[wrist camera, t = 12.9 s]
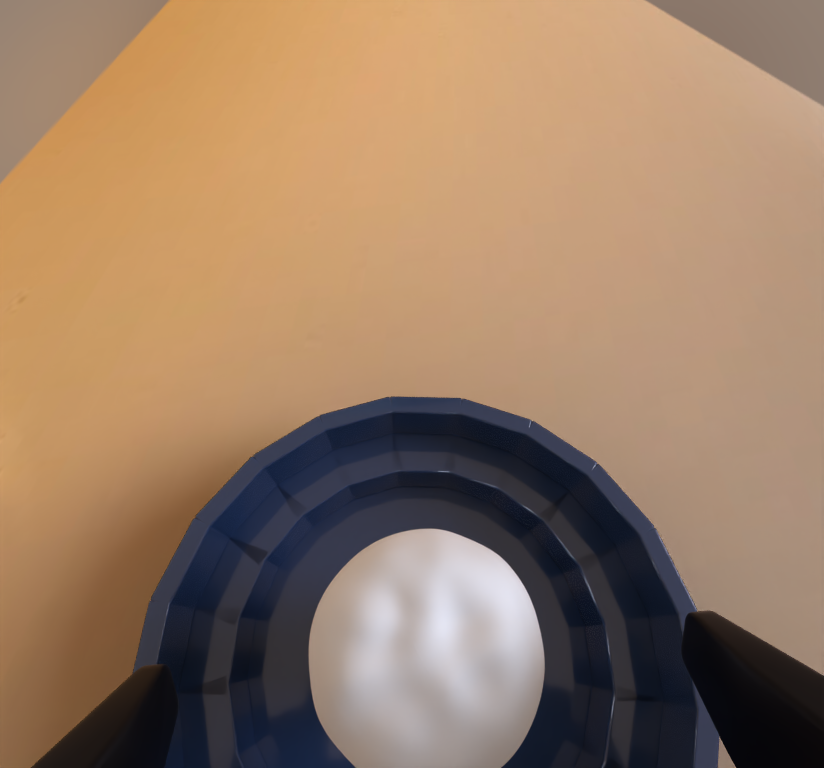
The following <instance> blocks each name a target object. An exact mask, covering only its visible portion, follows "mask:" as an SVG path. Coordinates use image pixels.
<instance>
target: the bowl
mask: <svg viewBox="0 0 824 768" xmlns="http://www.w3.org/2000/svg"><path fill="white" fill-rule="evenodd" d="M416 529H440V530H445V531H449V532H452V533H455V534H458V535H461V536H463V537H465V538H468V539H470V540H472V541H475V542H477V543H479V544H481V545H483V546H485V547H487V548H488V549H490V550H492V551H493V552H495V553H496V554H498V555H499V556H500V557H501V558H502V559H503V560H504V561H505V562H506V563H507V564H508V565H509V566H510V567H511V568H512V569H513V571H514V572H515V573H516V575H517V576H518V577H519V579H520V580H521V582H522V584H523V585H524V587H525V589H526V591H527V593H528V595H529V597H530V599H531V601H532V604H533V607H534V609H535V613H536V616H537V620H538V623H539V628H540V632H541V637H542V642H543V649H544V658H545V673H544V682H543V689H542V694H541V698H540V702H539V705H538V709H537V712H536V715H535V717H534V720H533V722H532V725H531V727H530V729H529V731H528V733H527V735H526V737H525V739H524V741H523V742H522V744H521V745H520V747H519V748H518V750H517V751H516V752H515V754H514V755H513V756H512V757H511V758H510V760H509V761H508V762H507V763H506V764H505V765H503V766H502V767H501V768H718V751H719V734H718V732H717V730H716V728H715V726H714V724H713V722H712V719H711V717H710V715H709V713H708V711H707V709H706V707H705V705H704V703H703V701H702V699H701V697H700V695H699V693H698V691H697V689H696V687H695V684H694V682H693V680H692V678H691V676H690V674H689V672H688V670H687V668H686V666H685V664H684V661H683V658H682V653H681V646H682V638H683V631H684V624H685V618H686V616H687V614H688V613H690V612H697V608H696V606H695V604H694V602H693V600H692V599H691V597H690V595H689V593H688V591H687V589H686V587H685V585H684V583H683V581H682V579H681V577H680V575H679V573H678V571H677V569H676V567H675V565H674V563H673V561H672V559H671V557H670V555H669V553H668V551H667V549H666V547H665V545H664V543H663V541H662V540H661V538H660V536H659V534H658V532H657V530H656V528H654V525H653V524H652V523H651V522H650V521H649V520H648V518H647V517H646V516H645V515H644V514H643V513H642V512H641V511H640V510H639V508H638V507H637V506H636V505H635V504H634V503H633V502H632V501H631V499H630V498H629V497H628V496H627V495H626V494H625V493H624V492H623V490H622V489H621V488H620V487H619V486H618V485H617V484H616V483H615V481H614V480H613V479H612V478H611V477H610V476H609V475H608V474H607V472H606V471H605V470H604V469H603V468H602V467H601V466H600V465H599V464H597V462H596V461H594V460H593V459H591V458H590V457H588V456H586V455H585V454H583V453H582V452H580V451H579V450H577V449H576V448H574V447H573V446H571V445H570V444H568V443H567V442H565V441H564V440H562V439H560V438H559V437H557V436H556V435H554V434H553V433H551V432H550V431H548V430H547V429H545V428H544V427H542V426H541V425H539V424H537V423H536V422H534V421H532V420H530V419H527V418H524V417H521V416H517V415H514V414H511V413H508V412H505V411H501V410H498V409H495V408H492V407H489V406H486V405H482V404H479V403H476V402H473V401H470V400H466V399H461V398H435V397H386V398H382V399H378V400H374V401H371V402H367V403H363V404H360V405H356V406H352V407H348V408H345V409H341V410H337V411H333V412H330V413H326V414H322V415H320V416H318V417H316V418H314V419H312V420H311V421H309V422H307V423H306V424H304V425H302V426H301V427H299V428H297V429H296V430H294V431H292V432H291V433H289V434H287V435H286V436H284V437H282V438H281V439H279V440H277V441H276V442H274V443H272V444H271V445H269V446H267V447H266V448H264V449H262V450H261V451H259V452H258V453H256V454H254V455H253V457H251V458H250V459H249V460H248V461H247V462H246V463H245V464H244V465H243V466H242V467H241V468H240V469H239V470H238V471H237V472H236V473H235V475H234V476H233V477H232V478H231V479H230V480H229V481H228V482H227V483H226V484H225V485H224V486H223V487H222V488H221V489H220V490H219V491H218V493H217V494H216V495H215V496H214V497H213V498H212V499H211V500H210V501H209V502H208V503H207V504H206V505H205V506H204V507H203V508H202V509H201V511H200V512H199V513H198V514H197V515H196V516H195V518H194V519H193V520H192V522H191V524H190V526H189V528H188V530H187V532H186V533H185V535H184V537H183V539H182V541H181V543H180V545H179V547H178V548H177V550H176V552H175V554H174V556H173V558H172V560H171V562H170V563H169V565H168V567H167V569H166V571H165V573H164V575H163V576H162V578H161V580H160V582H159V584H158V586H157V588H156V590H155V591H154V593H153V595H152V597H151V601H150V602H149V605H148V609H147V613H146V618H145V622H144V626H143V631H142V635H141V639H140V644H139V648H138V652H137V657H136V661H135V665H134V670H133V673H134V672H135V671H137V670H138V669H139V668H141V667H143V666H146V665H156V664H166V665H168V666H169V668H170V670H171V674H172V678H173V682H174V686H175V690H176V694H177V698H178V714H177V719H176V723H175V727H174V731H173V735H172V739H171V743H170V747H169V751H168V755H167V759H166V763H165V767H164V768H356V767H355V766H354V765H353V764H352V763H351V762H350V761H349V760H348V759H347V758H346V757H345V756H344V755H343V754H342V753H341V751H340V750H339V749H338V748H337V747H336V746H335V744H334V743H333V742H332V740H331V739H330V738H329V736H328V735H327V733H326V732H325V730H324V728H323V727H322V725H321V723H320V721H319V718H318V716H317V713H316V710H315V706H314V702H313V697H312V691H311V683H310V673H309V638H310V631H311V626H312V622H313V618H314V615H315V612H316V609H317V607H318V604H319V602H320V600H321V598H322V596H323V594H324V592H325V591H326V589H327V587H328V586H329V584H330V583H331V582H332V580H333V579H334V578H335V576H336V575H337V574H338V573H339V572H340V570H341V569H342V568H343V567H344V566H345V565H346V564H347V563H348V562H349V561H350V560H351V559H352V558H353V557H354V556H356V555H357V554H358V553H359V552H360V551H362V550H363V549H365V548H366V547H368V546H369V545H371V544H373V543H374V542H376V541H378V540H380V539H383V538H385V537H388V536H390V535H393V534H396V533H400V532H404V531H409V530H416Z"/></svg>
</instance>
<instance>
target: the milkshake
mask: <svg viewBox="0 0 824 768" xmlns="http://www.w3.org/2000/svg"><path fill="white" fill-rule="evenodd" d="M309 673H310V683H311V691H312V697H313V702H314V706H315V710H316V713H317V716H318V718H319V721H320V723H321V725H322V727H323V728H324V730H325V732H326V733H327V735H328V736H329V738H330V739H331V740H332V742H333V743H334V744H335V746H336V747H337V748H338V749H339V750H340V751H341V753H342V754H343V755H344V756H345V757H346V758H347V759H348V760H349V761H350V762H351V763H352V764H353V765H354V766H355V767H356V768H501V767H502V766H503V765H505V764H506V763H507V762H508V761H509V760H510V758H511V757H512V756H513V755H514V754H515V752H516V751H517V750H518V748H519V747H520V745H521V744H522V742H523V741H524V739H525V737H526V735H527V733H528V731H529V729H530V727H531V725H532V722H533V720H534V717H535V715H536V712H537V709H538V705H539V702H540V698H541V694H542V689H543V682H544V673H545V658H544V649H543V642H542V637H541V632H540V628H539V623H538V620H537V616H536V613H535V609H534V607H533V604H532V601H531V599H530V597H529V595H528V593H527V591H526V589H525V587H524V585H523V584H522V582H521V580H520V579H519V577H518V576H517V575H516V573H515V572H514V571H513V569H512V568H511V567H510V566H509V565H508V564H507V563H506V562H505V561H504V560H503V559H502V558H501V557H500V556H499V555H498V554H496V553H495V552H493V551H492V550H490V549H488V548H487V547H485V546H483V545H481V544H479V543H477V542H475V541H472V540H470V539H468V538H465V537H463V536H461V535H458V534H455V533H452V532H449V531H445V530H440V529H416V530H409V531H404V532H400V533H396V534H393V535H390V536H388V537H385V538H383V539H380V540H378V541H376V542H374V543H373V544H371V545H369V546H368V547H366V548H365V549H363V550H362V551H360V552H359V553H358V554H357V555H356V556H354V557H353V558H352V559H351V560H350V561H349V562H348V563H347V564H346V565H345V566H344V567H343V568H342V569H341V570H340V572H339V573H338V574H337V575H336V576H335V578H334V579H333V580H332V582H331V583H330V584H329V586H328V587H327V589H326V591H325V592H324V594H323V596H322V598H321V600H320V602H319V604H318V607H317V609H316V612H315V615H314V618H313V622H312V626H311V631H310V638H309Z"/></svg>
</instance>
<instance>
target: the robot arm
mask: <svg viewBox="0 0 824 768" xmlns="http://www.w3.org/2000/svg"><path fill="white" fill-rule="evenodd" d="M681 653H682V658H683V661H684V664H685V666H686V668H687V670H688V672H689V674H690V676H691V678H692V680H693V682H694V684H695V687H696V689H697V691H698V693H699V695H700V697H701V699H702V701H703V703H704V705H705V707H706V709H707V711H708V713H709V715H710V717H711V719H712V722H713V724H714V726H715V728H716V730H717V732H718V734H719V736H720V738H721V740H722V742H723V744H724V746H725V748H726V750H727V752H728V754H729V756H730V757H731V759H732V761H733V763H734V764H735V766H736V768H824V676H823V675H822V674H820V673H818V672H816V671H815V670H813V669H811V668H810V667H808V666H806V665H804V664H803V663H801V662H799V661H798V660H796V659H794V658H792V657H791V656H789V655H787V654H785V653H784V652H782V651H780V650H779V649H777V648H775V647H773V646H772V645H770V644H768V643H767V642H765V641H763V640H761V639H760V638H758V637H756V636H755V635H753V634H751V633H749V632H748V631H746V630H744V629H743V628H741V627H739V626H737V625H736V624H734V623H732V622H731V621H729V620H727V619H725V618H724V617H722V616H720V615H719V614H717V613H715V612H712V611H698V612H690V613H688V614H687V616H686V618H685V624H684V631H683V638H682V646H681ZM177 714H178V698H177V694H176V690H175V686H174V682H173V678H172V674H171V670H170V668H169V666H168V665H166V664H156V665H146V666H143V667H141V668H139V669H138V670H137V671H135V672H134V673H133V674H132V675H131V676H130V677H129V678H128V679H127V680H126V681H125V682H123V683H122V684H121V685H120V686H119V687H118V688H117V689H116V690H115V691H114V692H113V693H112V694H110V695H109V696H108V697H107V698H106V699H105V700H104V701H103V702H102V703H101V704H100V705H98V706H97V707H96V708H95V709H94V710H93V711H92V712H91V713H90V714H89V715H88V716H87V717H85V718H84V719H83V720H82V721H81V722H80V723H79V724H78V725H77V726H76V727H75V728H73V729H72V730H71V731H70V732H69V733H68V734H67V735H66V736H65V737H64V738H63V739H62V740H60V741H59V742H58V743H57V744H56V745H55V746H54V747H53V748H52V749H51V750H50V751H48V752H47V753H46V754H45V755H44V756H43V757H42V758H41V759H40V760H39V761H38V762H37V763H35V764H34V765H33V766H32V767H31V768H164V767H165V763H166V759H167V755H168V751H169V747H170V743H171V739H172V735H173V731H174V727H175V723H176V719H177Z"/></svg>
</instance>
